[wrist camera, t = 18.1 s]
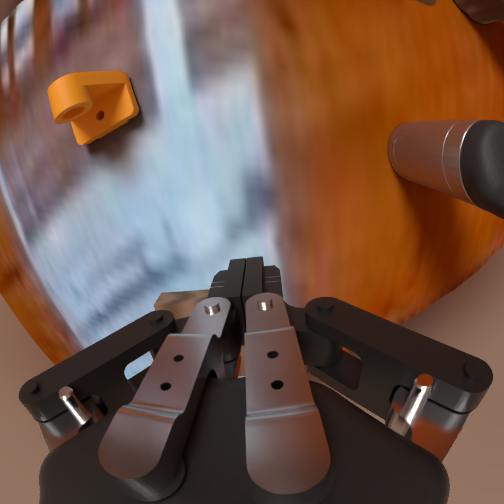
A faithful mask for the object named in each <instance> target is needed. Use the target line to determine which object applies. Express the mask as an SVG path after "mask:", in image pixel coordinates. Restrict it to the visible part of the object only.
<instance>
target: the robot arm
mask: <svg viewBox="0 0 504 504" xmlns="http://www.w3.org/2000/svg"><path fill="white" fill-rule="evenodd" d="M388 156H389V160H390V163H391V165H392V167H393V169H394V170H395V172H396V173H397V174H398V175H399V176H401V177H402V178H403V179H405V180H408V181H411V182H414V183H417V184H419V185H422V186H425V187H428V188H431V189H433V190H436V191H439V192H442V193H444V194H447V195H449V196H452V197H455V198H457V199H460V200H462V201H465V202H467V203H470V204H472V205H475V206H477V207H479V208H481V209H484V210H486V211H488V212H490V213H492V214H494V215H496V216H498V217H500V218H502V219H504V123H503V122H500V121H496V120H440V121H418V122H407V123H403V124H401V125H399V126H398V127H397V128H395V130H394V131H393V132H392V134H391V136H390V138H389V143H388ZM241 346H245V374H246V377H242V378H238V374H239V370H240V365H241V354H240V352H241ZM343 347H345V348H347V349H349V350H351V351H353V352H355V353H356V354H357V355H358V356H359V357H360V358H361V360H362V361H361V360H359V359H358V358H356V357H354V356H352V355H350V354H348V353H347V352H345V351H343V350H342V348H343ZM148 351H150V353H151V355H152V357H153V360H154V361H153V363H152V364H151V365H150V366H149V367H147V368H146V369H144V370H143V371H141V372H140V373H138V374H136V375H135V376H133V377H132V378H130V379H128V380H127V379H126V377H125V375H124V370H125V367H126V366H127V365H128V364H129V363H131V362H132V361H134V360H136V359H137V358H139V357H140V356H142V355H144V354H145V353H147V352H148ZM304 365H306V367H307V370H308V371H309V372H310V373H311V374H312V375H314V376H315V377H317V378H319V379H320V380H321V381H323V382H325V383H326V384H328V385H329V386H331V387H332V388H334V389H335V390H337V391H338V392H340V393H341V394H343V395H345V396H346V397H348V398H350V399H351V400H353V401H354V402H356V403H358V404H359V405H361V406H362V407H364V408H366V409H367V410H369V411H371V412H372V413H374V414H376V415H378V416H379V417H381V418H383V419H384V420H385V424H383V423H381V422H380V421H378V420H377V419H375V418H373V417H372V416H371V415H369V414H367V413H366V412H364V411H363V410H361V409H360V408H358V407H357V406H355V405H354V404H352V403H351V402H349V401H348V400H347V399H345V398H344V397H342V396H341V395H339V394H338V393H336V392H335V391H333V390H332V389H330V388H328V387H326V386H324V385H322V384H319V383H317V382H313V381H309V380H308V377H307V373H306V369H305V366H304ZM492 381H493V373H492V370H491V368H490V367H489V365H488V364H487V363H486V362H485V361H483V360H481V359H479V358H477V357H475V356H472V355H470V354H467V353H465V352H462V351H460V350H458V349H455V348H453V347H450V346H448V345H445V344H443V343H440V342H438V341H436V340H433V339H431V338H429V337H426V336H424V335H421V334H419V333H416V332H414V331H412V330H409V329H407V328H405V327H402V326H400V325H397V324H395V323H393V322H390V321H388V320H386V319H383V318H381V317H379V316H376V315H374V314H371V313H369V312H367V311H364V310H362V309H360V308H357V307H355V306H353V305H350V304H348V303H346V302H343V301H341V300H339V299H336V298H332V297H320V298H316V299H313V300H311V301H310V302H308V303H307V304H306V306H305V308H296V307H293V306H290V305H288V304H287V303H286V302H285V301H284V300H283V293H282V285H281V276H280V270H279V269H278V268H277V267H276V266H275V265H273V266H264V263H263V257H252V258H247V260H246V258H242V259H233V260H230V263H229V267H228V270H223V271H220V272H218V273H217V274H216V275H215V276H214V279H213V281H212V284H211V288H210V290H209V293H208V296H207V299H205V300H202V301H201V302H199V303H198V304H197V305H196V306H195V307H194V309H193V311H192V313H191V315H190V316H188V317H185V318H180V319H176V320H175V318H174V315H173V313H172V312H170V311H168V310H157V311H153V312H150V313H148V314H146V315H144V316H143V317H141V318H139V319H137V320H135V321H134V322H132V323H130V324H128V325H127V326H125V327H123V328H121V329H119V330H118V331H116V332H114V333H112V334H111V335H109V336H107V337H105V338H103V339H102V340H100V341H98V342H96V343H94V344H93V345H91V346H89V347H87V348H86V349H84V350H82V351H80V352H78V353H77V354H75V355H73V356H71V357H69V358H68V359H66V360H64V361H62V362H60V363H59V364H57V365H55V366H53V367H52V368H50V369H48V370H46V371H45V372H43V373H41V374H39V375H37V376H35V377H34V378H32V379H30V380H28V381H27V382H26V383H25V384H24V385H23V386H22V388H21V390H20V392H19V399H20V401H21V402H22V404H23V405H24V406H25V407H26V408H27V410H28V411H29V412H30V413H31V415H32V416H33V418H34V420H35V421H36V422H37V423H38V424H39V425H40V428H41V431H42V434H43V436H44V439H45V441H46V444H47V446H48V449H49V451H50V453H49V454H48V455H47V457H46V458H45V459H44V461H43V463H42V465H41V469H40V474H39V485H40V503H39V504H447V501H448V497H449V490H450V489H449V488H450V484H449V477H448V474H447V471H446V469H445V467H444V465H443V464H442V461H443V459H444V458H445V456H446V455H447V453H448V452H449V450H450V448H451V447H452V445H453V443H454V441H455V440H456V438H457V436H458V434H459V433H460V431H461V430H462V429H463V427H464V426H465V424H466V423H467V422H468V420H469V419H470V417H471V416H472V414H473V413H474V411H475V410H476V408H477V407H478V405H479V403H480V402H481V400H482V399H483V397H484V395H485V394H486V392H487V390H488V389H489V387H490V385H491V383H492Z"/></svg>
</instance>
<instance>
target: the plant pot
mask: <svg viewBox="0 0 504 504" xmlns="http://www.w3.org/2000/svg"><path fill="white" fill-rule="evenodd" d="M454 2H455V3H456V4H457V6H458V7H459V8H460V9H461V10H462V11H464V12H466V13H467V14H468V16H469V17H470V18H471V19H472V20H474V21H476V22H478V23H480V24H489V23H494V22H499V21H504V0H454Z"/></svg>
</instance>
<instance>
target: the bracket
mask: <svg viewBox="0 0 504 504" xmlns="http://www.w3.org/2000/svg"><path fill="white" fill-rule="evenodd" d="M48 96H49V100H50V104H51V109H52V113H53V116H54V120H55V123H57V124H63V123H67V122H70V121H71V124H72V127H73V130H74V134H75V137H76V140H77V143H78V144H80V145H83V144H90V143H91V142H93V141H94V140H96V139H100V138H101V137H103V136H105V135H106V134H108V133H110V132H111V131H113V130H115V129H116V128H118V127H120V126H122V125H123V124H125V123H127V122H128V120H130V119H131V118H133V117H135V116H136V115H137V114H138V112H139V107H138V104H137V101H136V98H135V95H134V92H133V89H132V86H131V83H130V80H129V77H128V74H127V73H125V72H123V71H96V72H78V73H71V74H68V75H65V76H63V77H61V78H59V79H58V80H56V81H55V82H54V83H52V84H51V86H50V87H49V89H48Z"/></svg>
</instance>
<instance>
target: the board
mask: <svg viewBox="0 0 504 504" xmlns="http://www.w3.org/2000/svg"><path fill="white" fill-rule="evenodd" d="M208 293H209V290H197V291H183V292H169V293H161V295H160V296H159V298H158V300H157V301H156V303H155V304H154V308H155V311H157V310H168V311H170V312H172V313H173V315H174V318H175V320H176V319H180V318H185V317H188V316H190V315H191V313H192V311H193V309H194V307H195V306H196V305H197V304H198V303H199V302H201V301H202V300H205V299H207V296H208ZM240 354H241V365H240V370H239V374H238V376H246V374H245V346H241V352H240Z"/></svg>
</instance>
